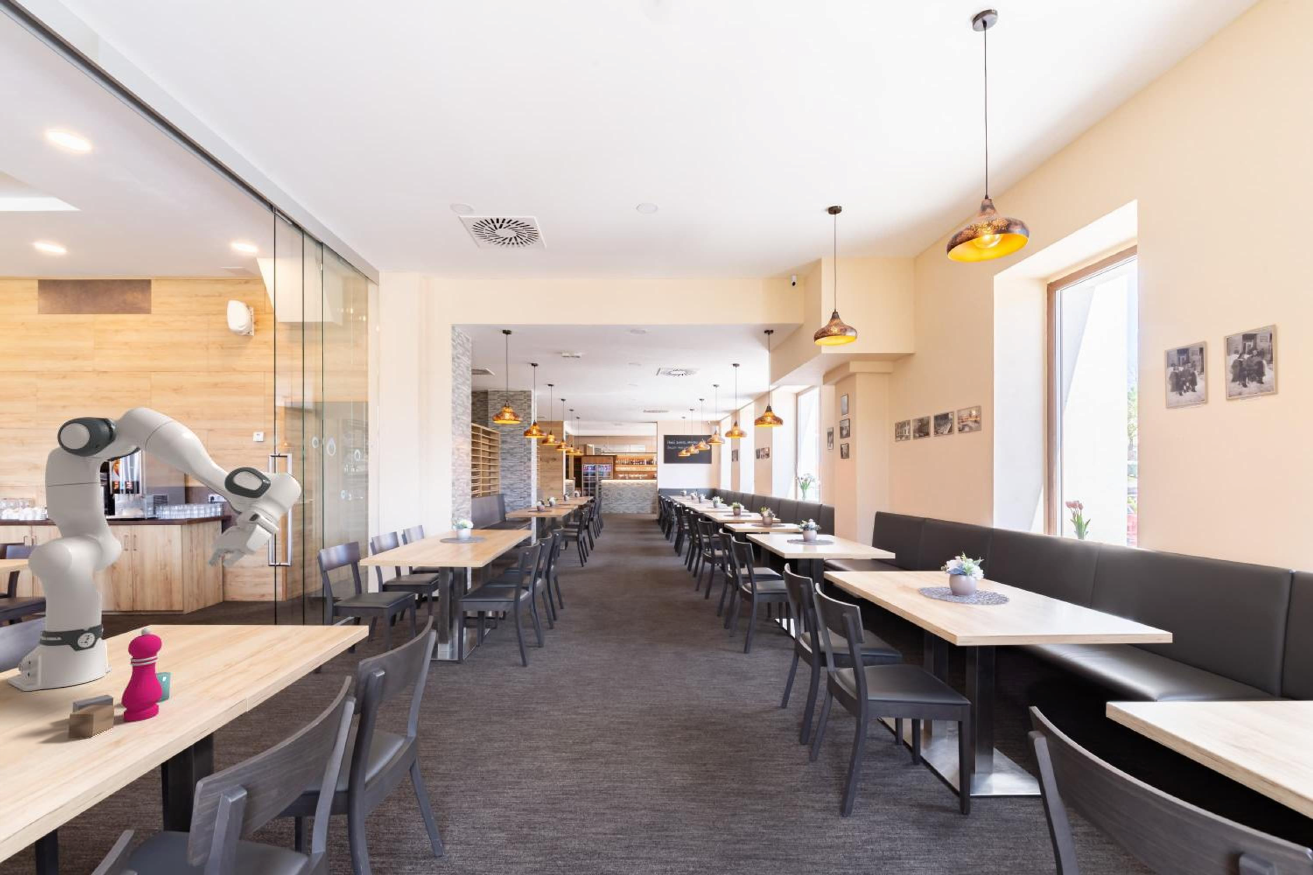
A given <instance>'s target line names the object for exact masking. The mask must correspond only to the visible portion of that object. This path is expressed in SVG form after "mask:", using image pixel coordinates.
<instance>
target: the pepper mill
mask: <svg viewBox="0 0 1313 875" xmlns="http://www.w3.org/2000/svg"><path fill="white" fill-rule="evenodd" d="M140 632H141V635H139V636H136V637H134V638H133V639H132V640H130V643H128V646H127V647H128V648H127V652H128V653H129V655H130V656H131V658H130V659H129V660H130V663H129V664H130V665H129V666H131V667H132V668H131V669H132V671H131V677H130V679H129V682H128V684H127V685H126V687H125V689H124V690H123V693H122V696H121V701H120V702H121V705H122V706H123V707H124V708H125V710H124V711H123V713H122V715H123V717H122V720H123V721H124V722H129V723H131V722H139V721H145V720H148V719H151V718H153V717H156V716H157V715H158V714H159V713H160V712H159V710H160V705H159V704H158V703H157V702H158V701H159V700H160V699H161V697H162V687H161V685H160V683H159V681H158V679H157V677H156V673H157V672H156V663H157V662H158V661H159V654H158V652H160V651H161V649H162V646H163V642H162V638H160V636H158V635H156V634H151V632H152V630H151V628H149V627H145V628H143V629H142V630H141V631H140Z"/></svg>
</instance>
